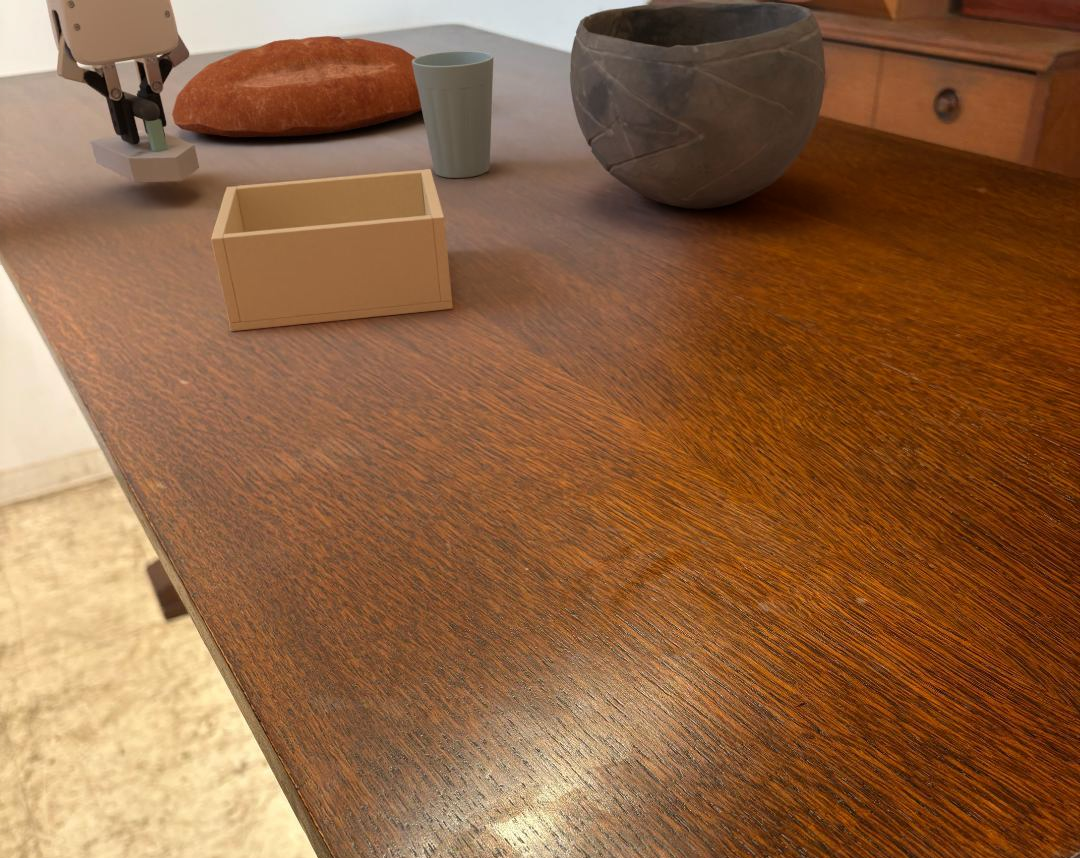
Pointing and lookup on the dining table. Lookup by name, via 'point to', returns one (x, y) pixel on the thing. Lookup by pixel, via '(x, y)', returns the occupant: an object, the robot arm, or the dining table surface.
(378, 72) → the bread
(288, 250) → the open wooden box
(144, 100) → the handle on base
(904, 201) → the dining table surface
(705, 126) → the bowl
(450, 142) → the cup
